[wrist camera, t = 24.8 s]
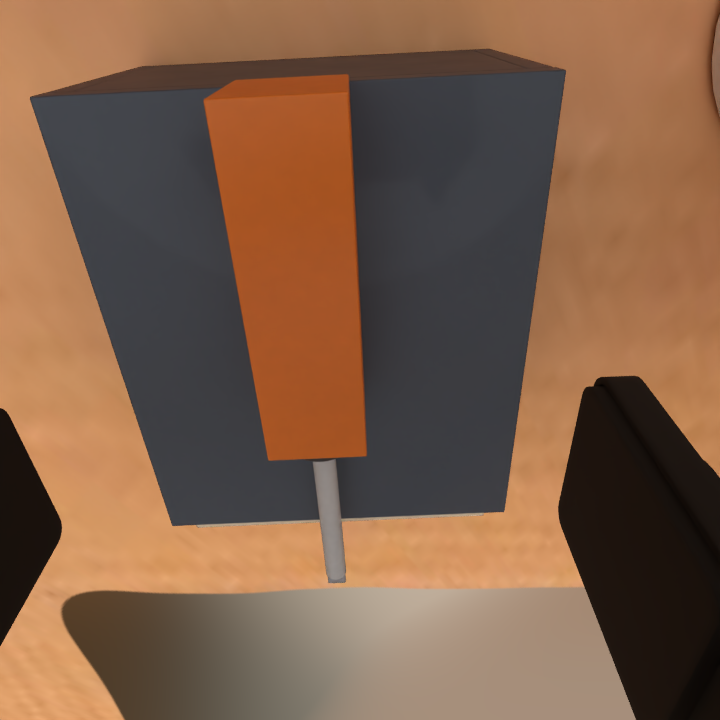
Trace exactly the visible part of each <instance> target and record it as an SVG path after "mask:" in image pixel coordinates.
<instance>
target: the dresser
mask: <svg viewBox="0 0 720 720" xmlns="http://www.w3.org/2000/svg"><path fill="white" fill-rule="evenodd" d="M341 74H348V75H349V89H350V109H351V129H352V149H353V169H354V190H355V210H356V230H357V250H358V270H359V290H360V310H361V331H362V351H363V371H364V392H365V418H366V444H367V456H363V457H340V458H336V467H337V478H338V489H339V500H340V511H341V519H347V518H371V517H394V516H418V515H441V514H465V513H488V512H504V510H505V503H506V496H507V489H508V482H509V474H510V467H511V460H512V453H513V446H514V439H515V432H516V424H517V417H518V410H519V403H520V396H521V389H522V382H523V374H524V367H525V360H526V353H527V346H528V339H529V332H530V324H531V317H532V310H533V303H534V296H535V289H536V282H537V274H538V267H539V260H540V253H541V246H542V239H543V232H544V224H545V217H546V210H547V203H548V196H549V189H550V182H551V174H552V167H553V160H554V153H555V146H556V139H557V132H558V124H559V117H560V110H561V103H562V96H563V89H564V82H565V74H566V70H564V69H560V68H557V67H551V66H548V65H544V64H541V63H537V62H534V61H530V60H527V59H523V58H520V57H516V56H513V55H509V54H506V53H502V52H499V51H495V50H492V49H475V50H455V51H436V52H416V53H397V54H377V55H358V56H338V57H318V58H299V59H279V60H260V61H240V62H221V63H201V64H181V65H162V66H142V67H138V68H134V69H130V70H127V71H123V72H120V73H116V74H112V75H109V76H105V77H101V78H98V79H94V80H91V81H87V82H83V83H80V84H76V85H72V86H69V87H65V88H62V89H58V90H54V91H51V92H47V93H43V94H39V95H35V96H32V97H30V100H31V103H32V106H33V109H34V112H35V115H36V118H37V121H38V124H39V127H40V130H41V133H42V136H43V139H44V142H45V145H46V148H47V151H48V154H49V157H50V160H51V163H52V166H53V169H54V172H55V175H56V178H57V181H58V184H59V187H60V190H61V193H62V196H63V199H64V202H65V205H66V208H67V211H68V214H69V217H70V220H71V223H72V226H73V229H74V232H75V235H76V238H77V241H78V244H79V247H80V250H81V253H82V256H83V259H84V262H85V265H86V268H87V271H88V274H89V277H90V280H91V283H92V286H93V289H94V292H95V295H96V298H97V301H98V304H99V307H100V310H101V313H102V316H103V319H104V322H105V325H106V328H107V331H108V334H109V337H110V340H111V343H112V346H113V349H114V352H115V355H116V358H117V361H118V364H119V367H120V370H121V373H122V376H123V379H124V382H125V385H126V388H127V391H128V394H129V397H130V400H131V403H132V406H133V409H134V412H135V415H136V418H137V421H138V424H139V427H140V430H141V433H142V436H143V439H144V442H145V445H146V448H147V451H148V454H149V457H150V460H151V463H152V466H153V469H154V472H155V475H156V478H157V481H158V484H159V487H160V490H161V493H162V496H163V499H164V502H165V505H166V508H167V511H168V514H169V517H170V520H171V523H172V526H182V525H206V524H229V523H253V522H276V521H300V520H320V517H319V509H318V500H317V492H316V484H315V476H314V468H313V462H312V461H307V460H304V459H295V460H273V461H269V460H268V456H267V451H266V445H265V440H264V434H263V429H262V423H261V418H260V412H259V407H258V401H257V395H256V390H255V384H254V379H253V373H252V368H251V362H250V357H249V351H248V346H247V340H246V335H245V329H244V323H243V318H242V312H241V307H240V301H239V296H238V290H237V285H236V279H235V274H234V268H233V263H232V257H231V251H230V246H229V240H228V235H227V229H226V224H225V218H224V213H223V207H222V202H221V196H220V190H219V185H218V179H217V174H216V168H215V163H214V157H213V152H212V146H211V141H210V135H209V130H208V124H207V118H206V113H205V107H204V102H203V101H204V99H205V98H207V97H208V96H210V95H212V94H213V93H215V92H216V91H218V90H220V89H221V88H223V87H225V86H226V85H228V84H229V83H231V82H233V81H234V80H244V79H264V78H283V77H302V76H322V75H341Z"/></svg>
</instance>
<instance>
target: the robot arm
mask: <svg viewBox="0 0 720 720" xmlns="http://www.w3.org/2000/svg"><path fill="white" fill-rule="evenodd" d="M712 81H713V93H714V97H715V101H716V105H717V108H718V112H719V116H720V15H719V19H718V22H717V25H716V32H715V39H714V46H713V54H712ZM558 512H559V520H560V524H561V527H562V530H563V533H564V535H565V538H566V540H567V543H568V545H569V548H570V551H571V553H572V556H573V558H574V561H575V563H576V566H577V569H578V571H579V574H580V576H581V579H582V581H583V584H584V587H585V589H586V592H587V594H588V597H589V599H590V602H591V604H592V607H593V610H594V612H595V615H596V618H597V620H598V623H599V625H600V628H601V630H602V632H603V635H604V638H605V641H606V643H607V646H608V648H609V651H610V653H611V656H612V658H613V661H614V664H615V666H616V669H617V672H618V674H619V676H620V679H621V682H622V684H623V687H624V690H625V692H626V695H627V697H628V700H629V702H630V705H631V707H632V710H633V713H634V715H635V718H636V720H720V478H719V476H718V475H717V474H716V472H715V471H714V470H713V469H712V468H711V467H710V466H709V465H708V464H707V463H706V462H705V461H704V460H703V459H702V458H701V457H700V455H699V454H698V453H697V451H696V450H695V449H694V448H693V446H692V445H691V444H690V442H689V441H688V440H687V438H686V437H685V436H684V434H683V433H682V432H681V430H680V429H679V428H678V426H677V425H676V424H675V422H674V421H673V420H672V418H671V417H670V416H669V415H668V413H667V412H666V411H665V409H664V408H663V407H662V405H661V404H660V403H659V401H658V400H657V399H656V397H655V396H654V395H653V393H652V392H651V391H650V389H649V388H648V387H647V385H646V384H645V383H644V382H643V380H642V379H641V378H639V377H637V376H619V377H600V378H598V379H597V380H596V382H595V384H594V387H586V388H585V389H584V391H583V394H582V399H581V403H580V408H579V413H578V417H577V422H576V426H575V431H574V436H573V440H572V445H571V449H570V454H569V459H568V463H567V468H566V473H565V477H564V482H563V486H562V491H561V496H560V500H559V506H558ZM61 532H62V524H61V520H60V518H59V515H58V513H57V511H56V509H55V507H54V505H53V503H52V501H51V499H50V497H49V495H48V493H47V491H46V489H45V487H44V485H43V483H42V481H41V479H40V477H39V475H38V473H37V471H36V469H35V467H34V465H33V463H32V461H31V459H30V457H29V455H28V453H27V451H26V449H25V447H24V445H23V443H22V441H21V439H20V437H19V435H18V433H17V431H16V429H15V426H14V424H13V422H12V420H11V418H10V416H9V415H8V413H7V412H6V411H5V410H3V409H1V408H0V646H1V644H2V642H3V640H4V639H5V637H6V635H7V633H8V632H9V630H10V628H11V626H12V624H13V623H14V621H15V619H16V617H17V615H18V614H19V612H20V610H21V608H22V607H23V605H24V603H25V601H26V599H27V598H28V596H29V594H30V592H31V590H32V589H33V587H34V585H35V583H36V582H37V580H38V578H39V576H40V574H41V573H42V571H43V569H44V567H45V565H46V564H47V562H48V560H49V558H50V557H51V555H52V553H53V551H54V549H55V548H56V546H57V544H58V542H59V540H60V537H61Z"/></svg>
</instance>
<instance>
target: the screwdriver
mask: <svg viewBox="0 0 720 720" xmlns="http://www.w3.org/2000/svg"><path fill="white" fill-rule="evenodd" d="M203 102H204V107H205V113H206V118H207V124H208V130H209V135H210V141H211V146H212V152H213V157H214V163H215V168H216V174H217V179H218V185H219V190H220V196H221V202H222V207H223V213H224V218H225V224H226V229H227V235H228V240H229V246H230V251H231V257H232V263H233V268H234V274H235V279H236V285H237V290H238V296H239V301H240V307H241V312H242V318H243V323H244V329H245V335H246V340H247V346H248V351H249V357H250V362H251V368H252V373H253V379H254V384H255V390H256V395H257V401H258V407H259V412H260V418H261V423H262V429H263V434H264V440H265V445H266V451H267V456H268V460H269V461H273V460H295V459H304V460H307V461H312V462H313V468H314V476H315V484H316V492H317V500H318V509H319V517H320V525H321V533H322V541H323V549H324V558H325V566H326V573H327V576H328V582H329V583H345V582H346V577H345V573H346V565H345V554H344V543H343V532H342V521H341V511H340V500H339V489H338V478H337V467H336V458H340V457H363V456H367V444H366V418H365V392H364V371H363V351H362V331H361V310H360V290H359V270H358V250H357V230H356V210H355V190H354V169H353V149H352V129H351V109H350V89H349V75H348V74H341V75H322V76H302V77H283V78H264V79H244V80H234V81H233V82H231V83H229V84H228V85H226V86H225V87H223V88H221V89H220V90H218V91H216V92H215V93H213V94H212V95H210V96H208V97H207V98H205V99H204V101H203Z"/></svg>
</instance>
